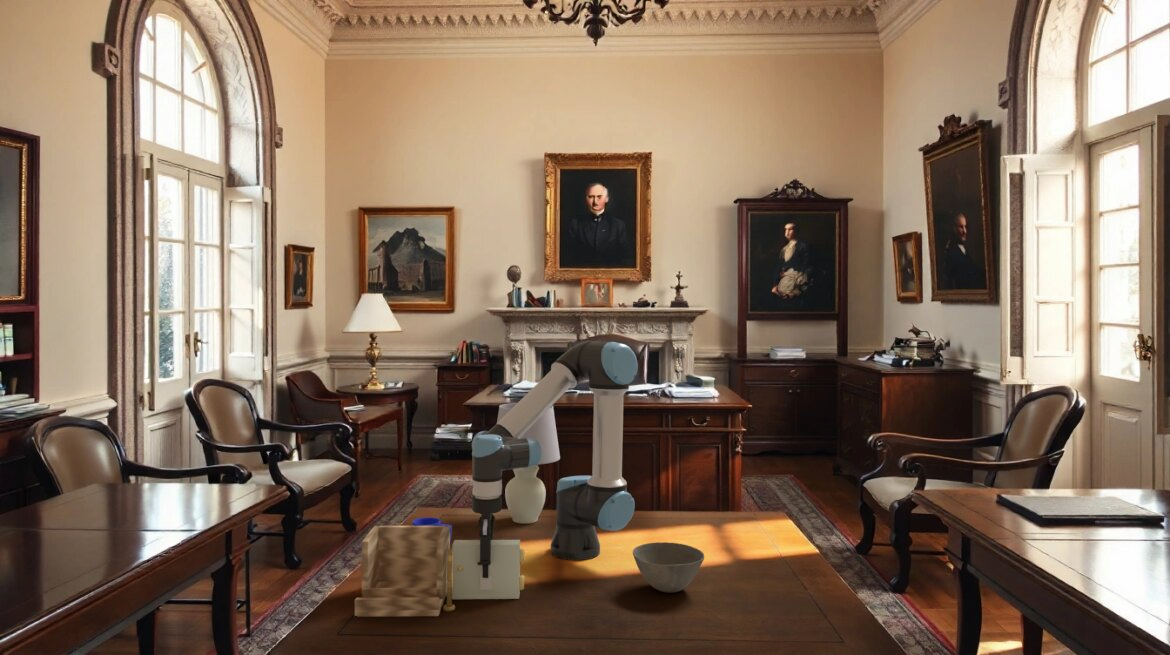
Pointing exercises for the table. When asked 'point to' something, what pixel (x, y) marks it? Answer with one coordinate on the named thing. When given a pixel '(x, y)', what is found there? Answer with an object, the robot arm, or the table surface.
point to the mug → (430, 523)
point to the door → (502, 570)
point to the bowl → (668, 564)
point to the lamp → (531, 469)
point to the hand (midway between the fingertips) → (486, 585)
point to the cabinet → (406, 571)
